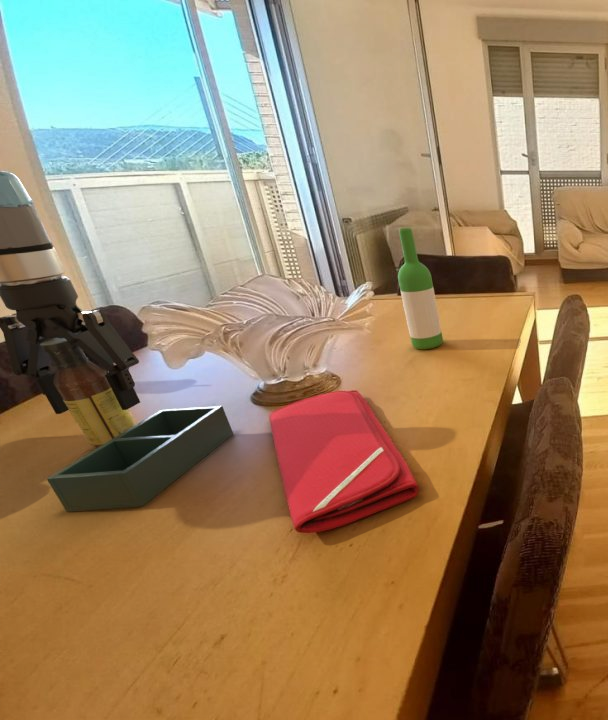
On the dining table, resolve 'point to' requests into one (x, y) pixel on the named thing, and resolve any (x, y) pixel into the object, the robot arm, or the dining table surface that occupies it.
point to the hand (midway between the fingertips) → (99, 408)
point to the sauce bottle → (87, 393)
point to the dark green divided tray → (141, 460)
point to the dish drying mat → (337, 461)
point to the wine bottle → (418, 297)
